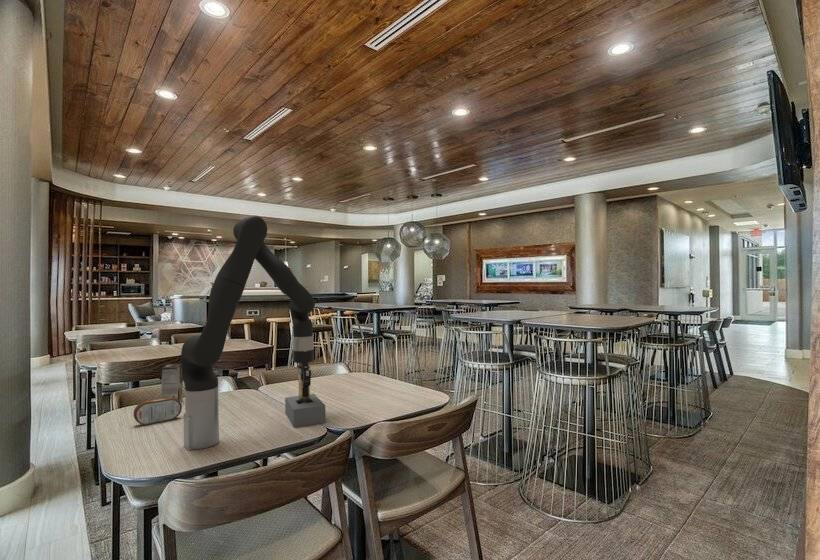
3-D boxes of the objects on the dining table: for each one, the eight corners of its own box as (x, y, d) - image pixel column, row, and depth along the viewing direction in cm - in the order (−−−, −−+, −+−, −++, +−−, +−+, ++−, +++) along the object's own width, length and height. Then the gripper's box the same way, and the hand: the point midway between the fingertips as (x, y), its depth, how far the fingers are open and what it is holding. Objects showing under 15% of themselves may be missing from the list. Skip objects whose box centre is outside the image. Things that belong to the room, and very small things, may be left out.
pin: (302, 409, 151) (301, 375, 151) (297, 406, 154) (296, 374, 154) (312, 406, 153) (311, 373, 154) (307, 404, 156) (306, 372, 157)
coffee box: (166, 401, 180) (166, 364, 180) (183, 400, 181) (182, 362, 182) (160, 407, 171) (160, 367, 171) (178, 405, 173) (178, 366, 173)
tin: (181, 416, 158) (180, 394, 158) (182, 418, 156) (182, 396, 156) (133, 425, 149) (133, 402, 149) (134, 428, 146) (134, 403, 146)
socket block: (325, 422, 148) (325, 405, 148) (293, 427, 143) (293, 409, 143) (314, 409, 164) (314, 393, 164) (285, 413, 159) (285, 397, 159)
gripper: (289, 346, 159) (290, 392, 158) (296, 352, 146) (297, 401, 146) (309, 345, 162) (310, 389, 162) (318, 350, 149) (319, 398, 149)
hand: (304, 395), depth 154 cm, fingers closed on pin, 4 cm apart
